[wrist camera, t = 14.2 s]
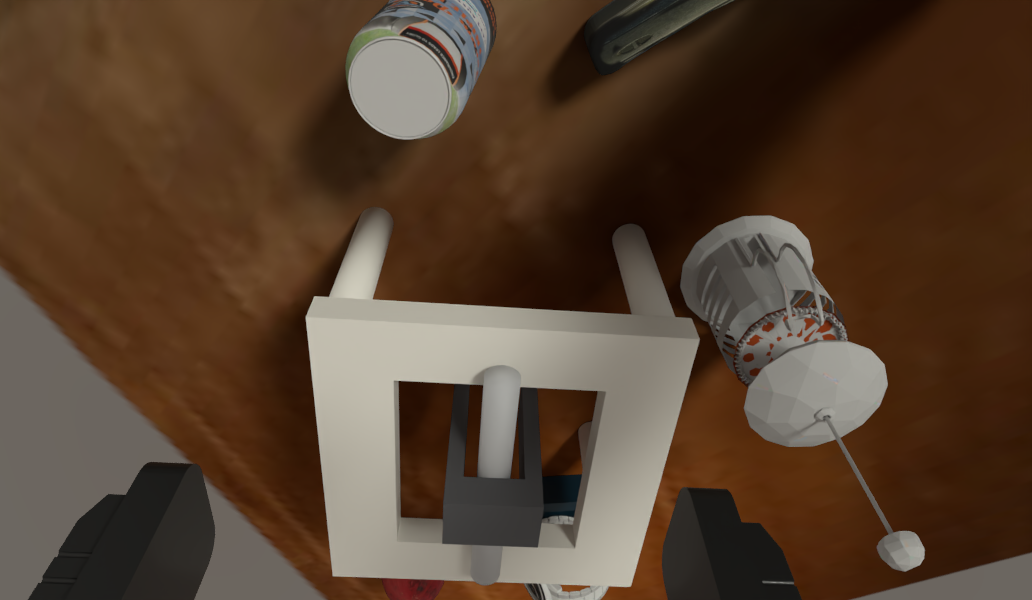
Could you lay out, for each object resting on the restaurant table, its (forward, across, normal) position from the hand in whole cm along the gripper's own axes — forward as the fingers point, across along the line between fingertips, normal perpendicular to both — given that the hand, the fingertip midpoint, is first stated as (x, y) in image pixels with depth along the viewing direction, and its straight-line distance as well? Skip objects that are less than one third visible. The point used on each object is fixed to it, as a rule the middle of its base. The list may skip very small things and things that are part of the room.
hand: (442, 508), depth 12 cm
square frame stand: (+36, -2, +23) cm, 43 cm away
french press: (+36, -20, +15) cm, 44 cm away
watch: (+36, -9, +41) cm, 55 cm away
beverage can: (+36, +3, 0) cm, 36 cm away
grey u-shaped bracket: (+29, -2, +23) cm, 37 cm away
